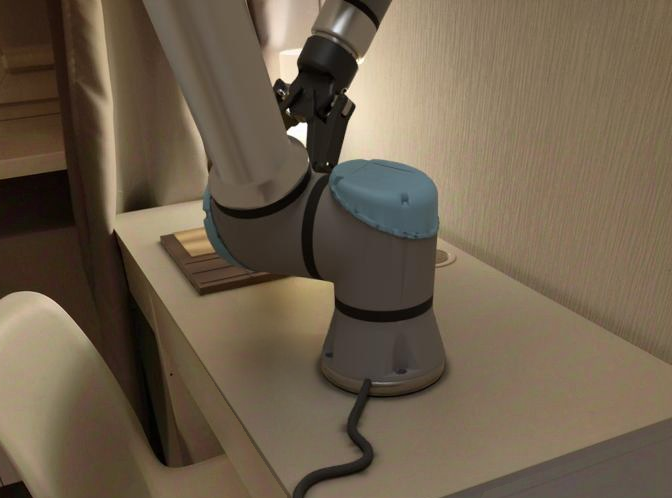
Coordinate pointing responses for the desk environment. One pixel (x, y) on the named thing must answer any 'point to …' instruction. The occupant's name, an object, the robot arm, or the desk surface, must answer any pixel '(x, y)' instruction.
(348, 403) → the desk surface
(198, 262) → the board
